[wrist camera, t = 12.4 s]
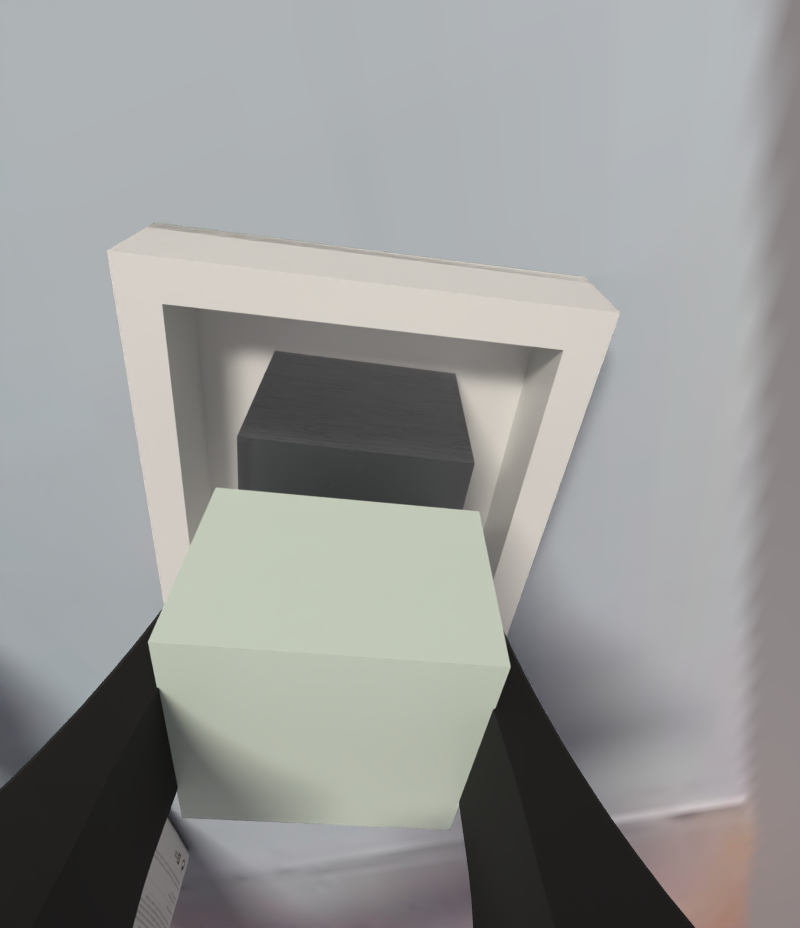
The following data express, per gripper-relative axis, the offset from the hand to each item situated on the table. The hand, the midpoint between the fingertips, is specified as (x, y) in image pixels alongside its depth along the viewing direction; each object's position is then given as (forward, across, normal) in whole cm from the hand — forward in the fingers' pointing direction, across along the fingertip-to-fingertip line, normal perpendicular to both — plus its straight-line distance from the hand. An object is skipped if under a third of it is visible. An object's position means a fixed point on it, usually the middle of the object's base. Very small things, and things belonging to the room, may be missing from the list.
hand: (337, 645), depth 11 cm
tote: (+8, 0, 0) cm, 8 cm away
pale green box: (+1, 0, 0) cm, 1 cm away
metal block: (+7, 0, 0) cm, 7 cm away
